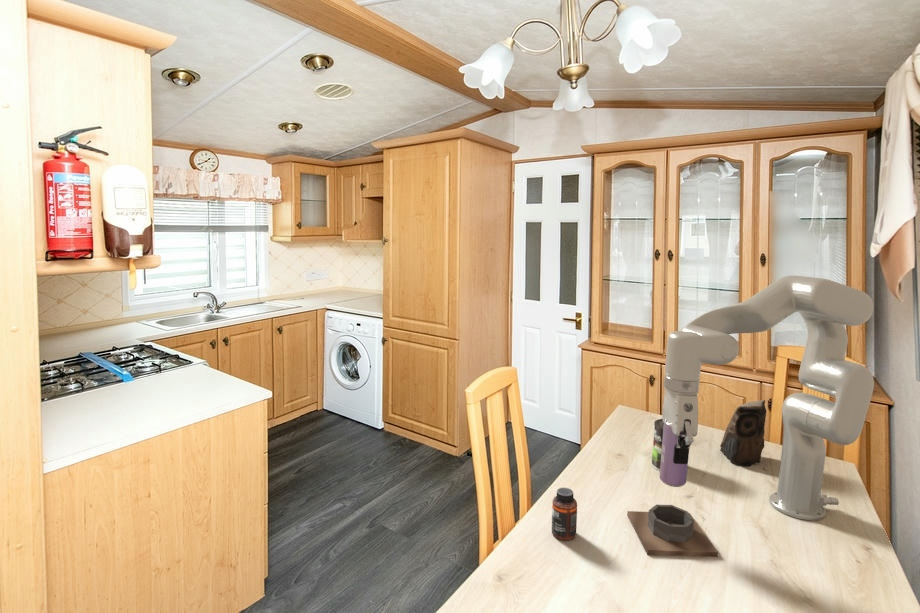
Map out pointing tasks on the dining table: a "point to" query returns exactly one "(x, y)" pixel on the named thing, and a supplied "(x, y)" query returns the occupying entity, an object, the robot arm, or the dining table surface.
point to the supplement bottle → (564, 514)
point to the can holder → (670, 532)
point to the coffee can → (657, 444)
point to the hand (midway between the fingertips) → (674, 456)
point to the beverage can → (671, 460)
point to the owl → (745, 434)
